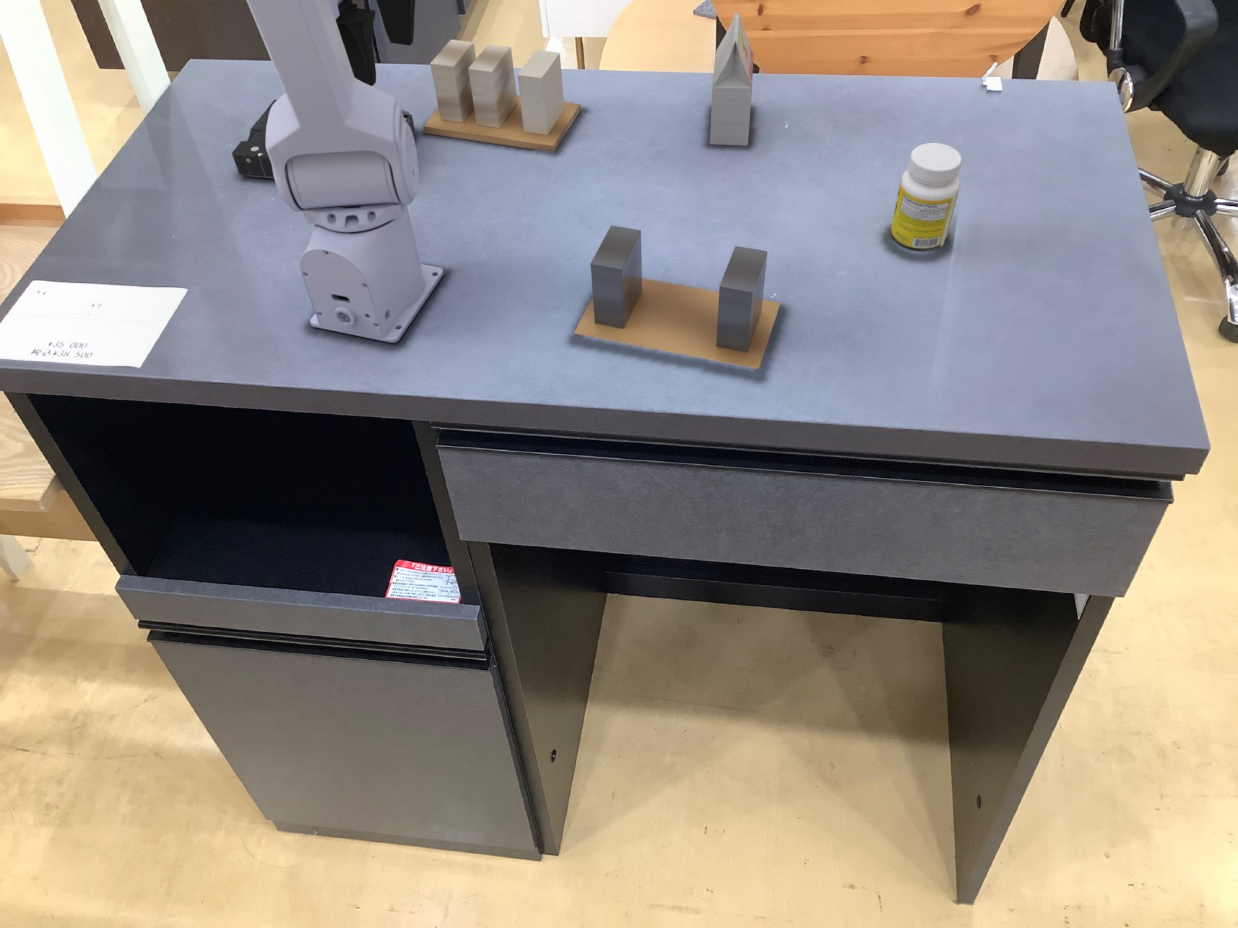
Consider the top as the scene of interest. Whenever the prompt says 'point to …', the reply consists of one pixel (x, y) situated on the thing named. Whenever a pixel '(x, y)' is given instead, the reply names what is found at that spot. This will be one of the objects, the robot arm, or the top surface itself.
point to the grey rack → (679, 305)
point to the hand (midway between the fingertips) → (383, 62)
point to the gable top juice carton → (732, 88)
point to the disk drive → (253, 152)
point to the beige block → (541, 92)
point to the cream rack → (485, 99)
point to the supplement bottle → (927, 197)
